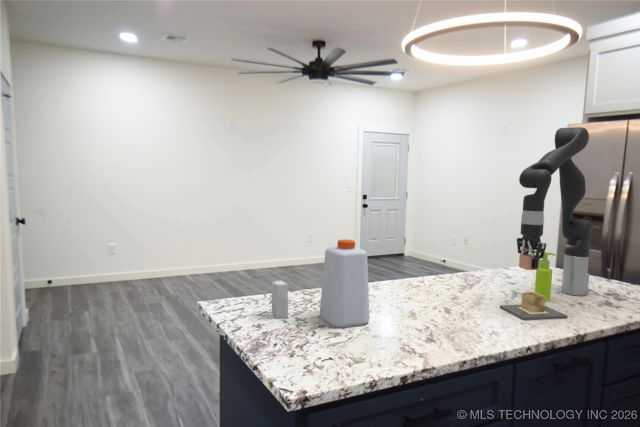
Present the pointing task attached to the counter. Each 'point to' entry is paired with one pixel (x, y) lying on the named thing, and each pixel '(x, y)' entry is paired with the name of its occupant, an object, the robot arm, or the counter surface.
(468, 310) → the counter surface
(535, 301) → the ochre block
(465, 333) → the counter surface
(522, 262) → the terracotta block
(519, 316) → the grey flat slab
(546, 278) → the soap dispenser
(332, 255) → the plastic bottle
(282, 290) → the skincare box
